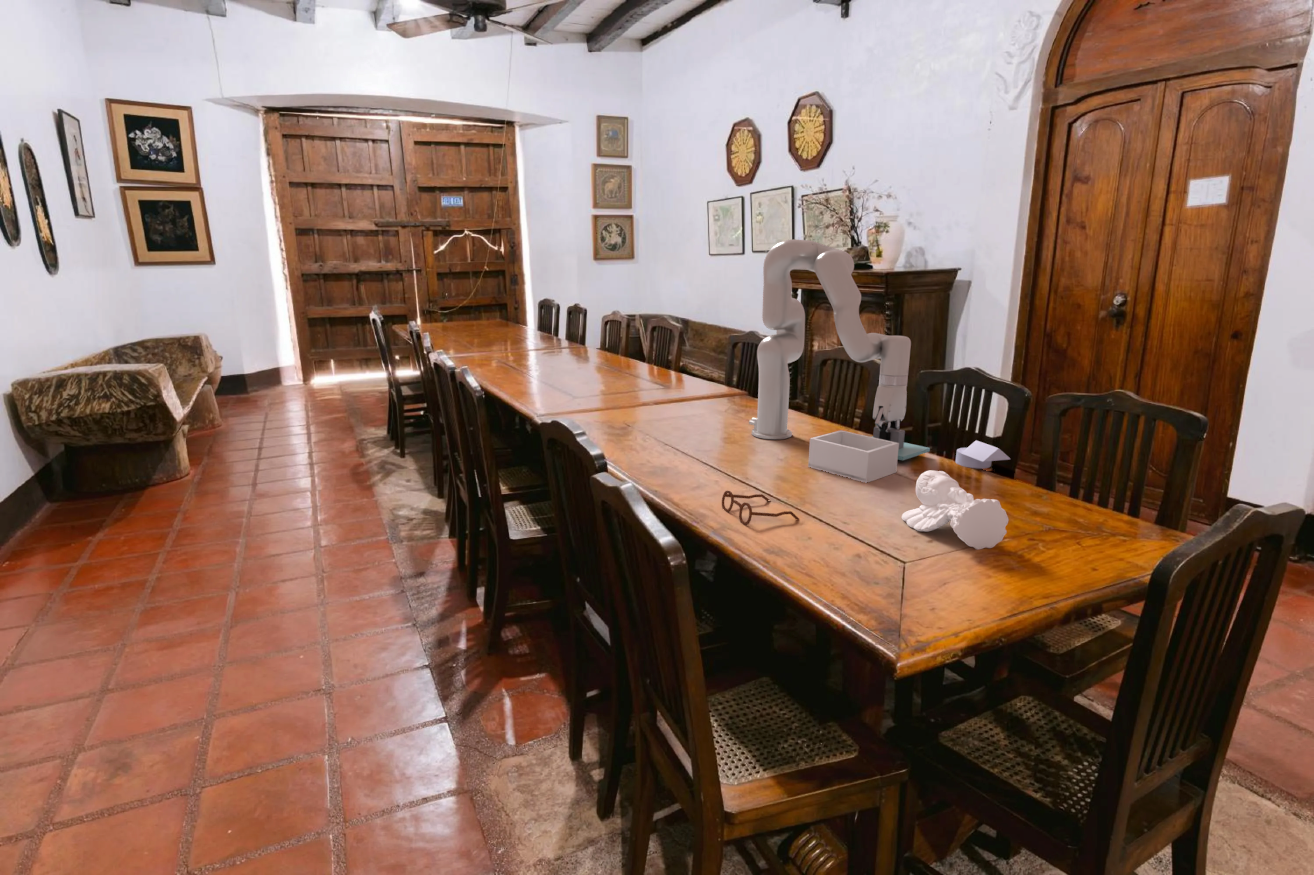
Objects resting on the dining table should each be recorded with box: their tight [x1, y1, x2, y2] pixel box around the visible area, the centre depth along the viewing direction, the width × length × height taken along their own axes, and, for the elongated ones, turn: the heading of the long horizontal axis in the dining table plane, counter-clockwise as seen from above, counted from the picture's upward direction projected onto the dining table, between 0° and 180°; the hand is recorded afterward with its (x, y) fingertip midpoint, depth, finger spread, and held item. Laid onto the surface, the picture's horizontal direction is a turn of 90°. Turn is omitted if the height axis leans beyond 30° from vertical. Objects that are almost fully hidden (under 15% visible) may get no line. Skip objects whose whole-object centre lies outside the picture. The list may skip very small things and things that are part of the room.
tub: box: [807, 430, 899, 484], centre depth 188 cm, size 18×14×8 cm
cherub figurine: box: [901, 469, 1009, 550], centre depth 146 cm, size 13×12×20 cm
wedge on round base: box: [955, 439, 1011, 469], centre depth 193 cm, size 9×7×13 cm
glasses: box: [721, 490, 800, 526], centre depth 157 cm, size 13×13×5 cm
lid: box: [871, 425, 931, 461], centre depth 202 cm, size 18×14×6 cm
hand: (887, 443), depth 202 cm, fingers closed on lid, 3 cm apart
